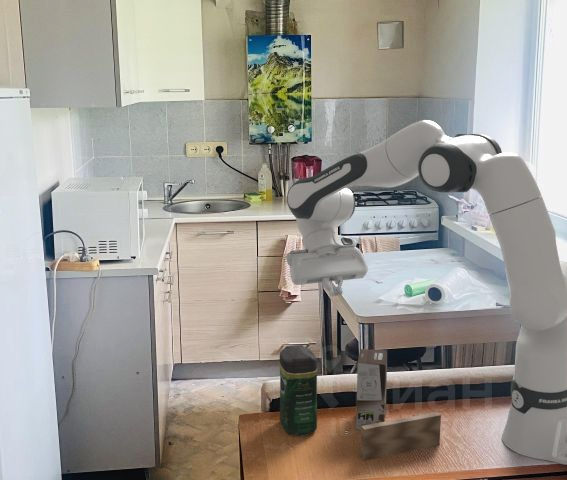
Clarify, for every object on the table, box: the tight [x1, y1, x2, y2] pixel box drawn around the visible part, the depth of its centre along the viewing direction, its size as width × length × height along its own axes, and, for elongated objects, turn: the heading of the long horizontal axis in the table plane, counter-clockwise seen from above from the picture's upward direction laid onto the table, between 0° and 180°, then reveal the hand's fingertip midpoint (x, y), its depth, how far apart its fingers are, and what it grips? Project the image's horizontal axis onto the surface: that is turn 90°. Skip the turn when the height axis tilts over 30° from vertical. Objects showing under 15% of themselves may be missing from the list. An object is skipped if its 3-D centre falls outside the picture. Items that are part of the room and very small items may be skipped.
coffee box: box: [355, 348, 388, 431], centre depth 156 cm, size 9×6×16 cm
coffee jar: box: [279, 344, 318, 437], centre depth 154 cm, size 10×8×19 cm
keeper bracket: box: [360, 411, 442, 461], centre depth 146 cm, size 18×6×7 cm, turn 109°
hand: (336, 294), depth 171 cm, fingers closed
